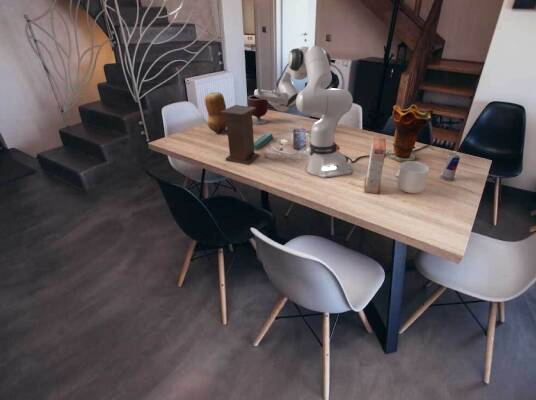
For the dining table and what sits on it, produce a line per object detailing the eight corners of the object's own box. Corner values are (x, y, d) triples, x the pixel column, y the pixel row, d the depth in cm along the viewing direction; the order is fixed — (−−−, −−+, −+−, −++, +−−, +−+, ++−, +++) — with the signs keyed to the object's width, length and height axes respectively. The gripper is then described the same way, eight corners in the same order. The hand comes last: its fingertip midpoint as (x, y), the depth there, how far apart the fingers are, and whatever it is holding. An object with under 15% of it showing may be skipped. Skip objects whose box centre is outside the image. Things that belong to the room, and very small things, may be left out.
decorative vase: (428, 155, 175) (441, 105, 160) (409, 167, 160) (421, 113, 146) (395, 145, 187) (404, 98, 172) (375, 156, 172) (383, 105, 158)
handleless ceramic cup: (413, 198, 133) (419, 174, 127) (390, 187, 140) (395, 165, 135) (428, 190, 139) (434, 167, 134) (405, 180, 147) (410, 159, 142)
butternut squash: (207, 130, 202) (201, 90, 189) (227, 128, 207) (223, 89, 194) (211, 137, 192) (205, 95, 179) (232, 134, 197) (228, 94, 184)
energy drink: (452, 181, 147) (459, 158, 141) (440, 178, 150) (447, 155, 144) (454, 177, 151) (461, 154, 145) (442, 174, 154) (449, 152, 148)
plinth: (238, 151, 172) (234, 104, 159) (259, 155, 169) (257, 107, 155) (225, 161, 161) (219, 111, 148) (247, 165, 157) (243, 114, 144)
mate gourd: (246, 124, 216) (244, 94, 206) (252, 118, 228) (250, 90, 217) (267, 125, 214) (266, 96, 204) (272, 120, 226) (271, 91, 215)
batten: (267, 137, 194) (267, 132, 192) (272, 138, 193) (272, 133, 191) (251, 149, 176) (251, 144, 174) (256, 150, 175) (256, 145, 173)
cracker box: (379, 194, 135) (386, 149, 124) (365, 192, 136) (371, 148, 125) (378, 179, 147) (386, 137, 136) (366, 178, 148) (372, 136, 137)
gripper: (260, 92, 191) (250, 83, 177) (291, 95, 185) (283, 86, 172) (258, 102, 191) (248, 94, 178) (289, 105, 185) (281, 98, 172)
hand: (265, 90), depth 175 cm, fingers open, 8 cm apart
